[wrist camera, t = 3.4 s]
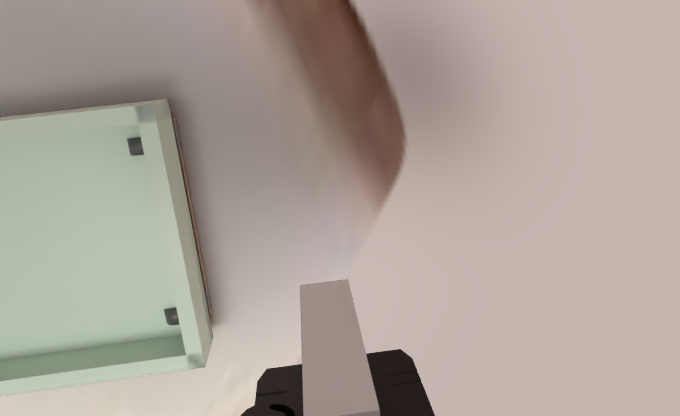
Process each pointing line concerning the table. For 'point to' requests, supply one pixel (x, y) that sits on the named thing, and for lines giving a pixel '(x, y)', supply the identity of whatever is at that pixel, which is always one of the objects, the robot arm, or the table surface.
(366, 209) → the table surface
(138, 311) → the shallow green tray
